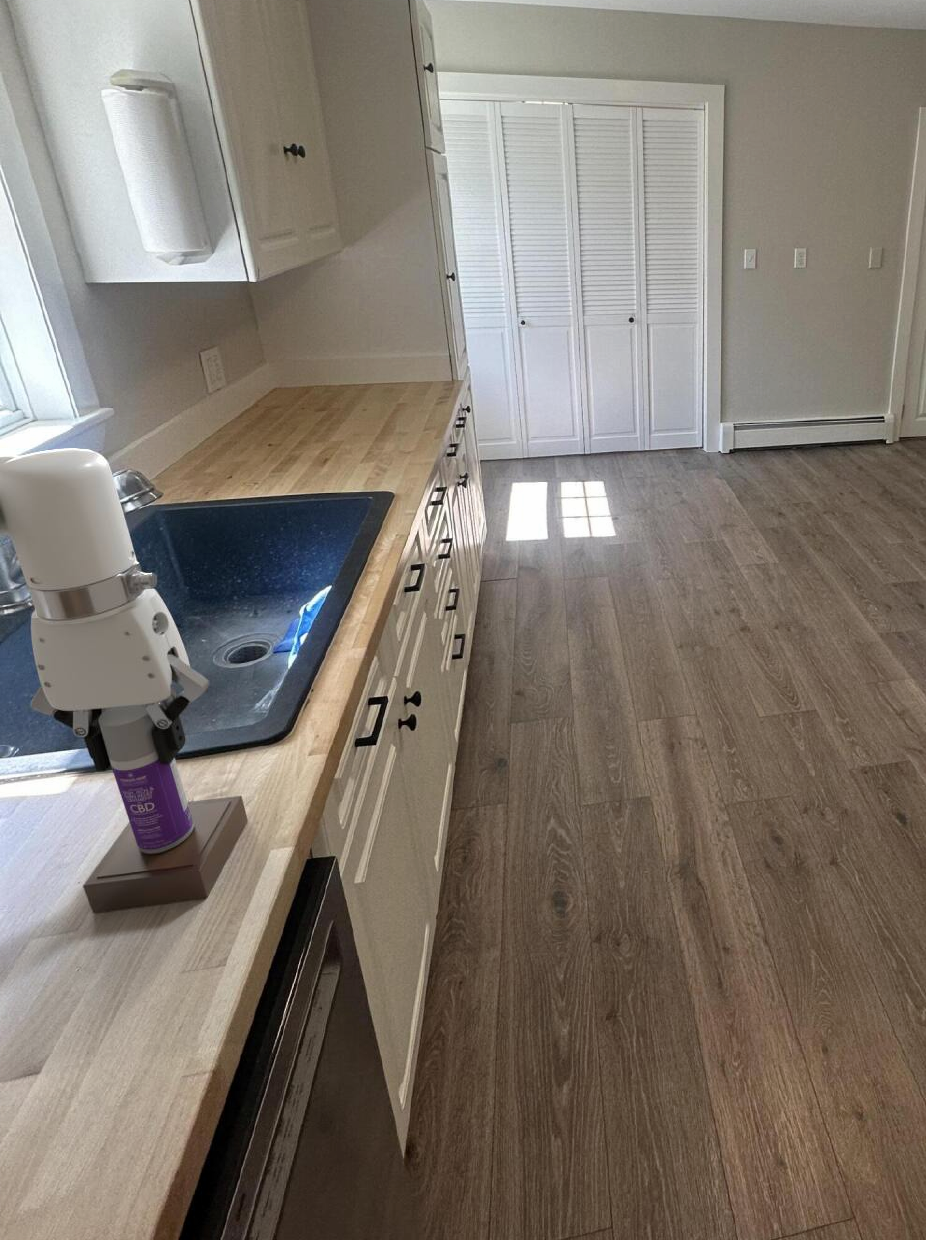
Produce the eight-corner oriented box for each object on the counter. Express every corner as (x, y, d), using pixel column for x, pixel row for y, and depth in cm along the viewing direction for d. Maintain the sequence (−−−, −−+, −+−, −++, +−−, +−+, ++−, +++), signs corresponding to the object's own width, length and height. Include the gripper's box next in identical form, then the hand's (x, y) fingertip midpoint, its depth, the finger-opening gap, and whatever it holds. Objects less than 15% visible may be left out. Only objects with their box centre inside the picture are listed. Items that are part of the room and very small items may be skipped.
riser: (92, 913, 70) (81, 885, 69) (147, 832, 79) (139, 806, 78) (207, 898, 72) (198, 870, 70) (248, 820, 81) (241, 794, 80)
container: (139, 861, 71) (97, 733, 66) (136, 832, 74) (95, 708, 69) (196, 837, 74) (160, 713, 69) (191, 810, 77) (156, 689, 72)
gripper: (213, 564, 70) (252, 723, 76) (9, 577, 67) (67, 742, 73) (174, 602, 63) (221, 774, 69) (-55, 619, 60) (15, 797, 66)
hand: (141, 756), depth 71 cm, fingers closed on container, 4 cm apart
